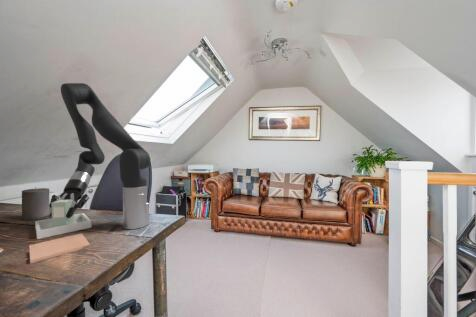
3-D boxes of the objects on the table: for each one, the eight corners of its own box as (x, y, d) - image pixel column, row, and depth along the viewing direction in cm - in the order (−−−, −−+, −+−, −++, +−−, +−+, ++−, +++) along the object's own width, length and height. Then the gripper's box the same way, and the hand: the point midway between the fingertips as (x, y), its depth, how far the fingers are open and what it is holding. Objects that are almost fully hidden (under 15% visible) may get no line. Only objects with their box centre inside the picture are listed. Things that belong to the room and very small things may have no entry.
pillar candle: (15, 221, 93) (15, 189, 93) (32, 215, 103) (32, 185, 102) (40, 220, 95) (40, 188, 95) (54, 214, 105) (54, 185, 104)
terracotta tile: (81, 235, 77) (81, 233, 77) (90, 246, 68) (90, 244, 68) (29, 247, 67) (29, 245, 67) (30, 263, 58) (30, 260, 58)
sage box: (61, 225, 85) (60, 199, 85) (74, 225, 86) (73, 199, 86) (51, 230, 80) (51, 202, 80) (65, 229, 81) (65, 202, 81)
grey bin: (83, 220, 95) (83, 212, 95) (91, 229, 84) (91, 220, 84) (35, 229, 83) (35, 221, 83) (37, 241, 72) (36, 231, 72)
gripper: (56, 178, 89) (34, 213, 78) (92, 178, 91) (75, 212, 80) (65, 188, 95) (45, 222, 83) (98, 187, 97) (83, 221, 85)
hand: (60, 217), depth 81 cm, fingers closed on sage box, 5 cm apart
